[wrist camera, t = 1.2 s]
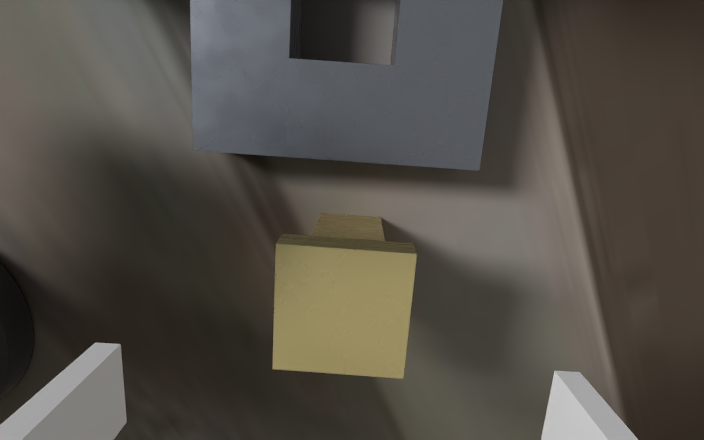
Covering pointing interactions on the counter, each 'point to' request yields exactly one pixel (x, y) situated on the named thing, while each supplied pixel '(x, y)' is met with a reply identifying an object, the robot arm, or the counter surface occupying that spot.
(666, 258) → the counter surface
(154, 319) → the counter surface
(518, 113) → the counter surface
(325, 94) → the gray post stand
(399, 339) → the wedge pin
